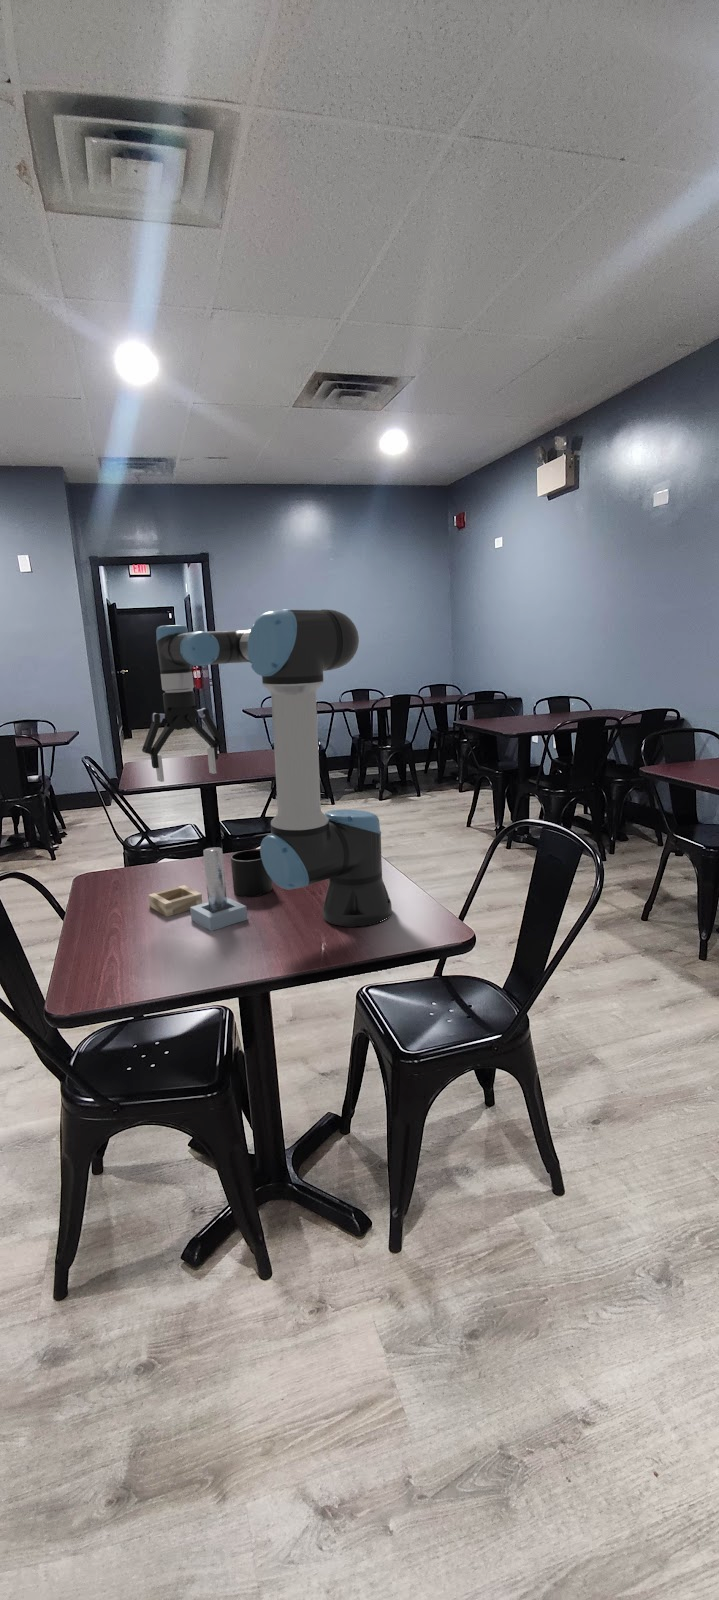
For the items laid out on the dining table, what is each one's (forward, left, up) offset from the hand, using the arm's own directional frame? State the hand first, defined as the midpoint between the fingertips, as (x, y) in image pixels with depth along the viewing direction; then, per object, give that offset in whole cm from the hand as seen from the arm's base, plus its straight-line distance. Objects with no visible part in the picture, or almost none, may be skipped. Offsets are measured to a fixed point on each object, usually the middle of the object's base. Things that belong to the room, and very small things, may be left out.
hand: (187, 777), depth 179 cm
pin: (-27, +9, -27) cm, 40 cm away
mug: (-15, -7, -28) cm, 32 cm away
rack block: (-12, +12, -27) cm, 32 cm away
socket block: (-27, +9, -27) cm, 40 cm away
